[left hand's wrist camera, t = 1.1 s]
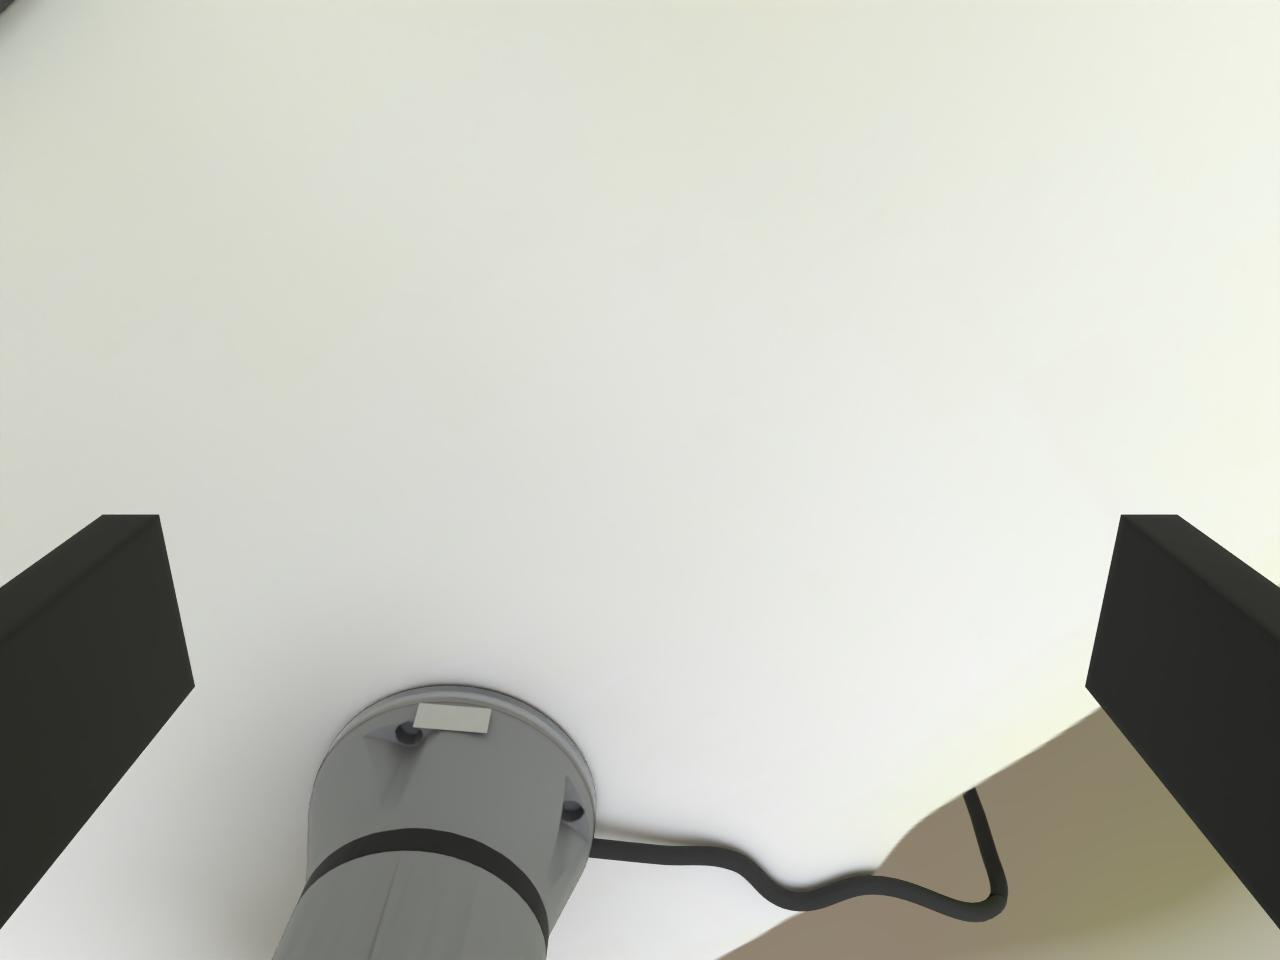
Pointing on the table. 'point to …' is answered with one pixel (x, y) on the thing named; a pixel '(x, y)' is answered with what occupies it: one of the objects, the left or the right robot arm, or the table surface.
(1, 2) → the pillar
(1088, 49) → the table surface
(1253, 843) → the left robot arm
